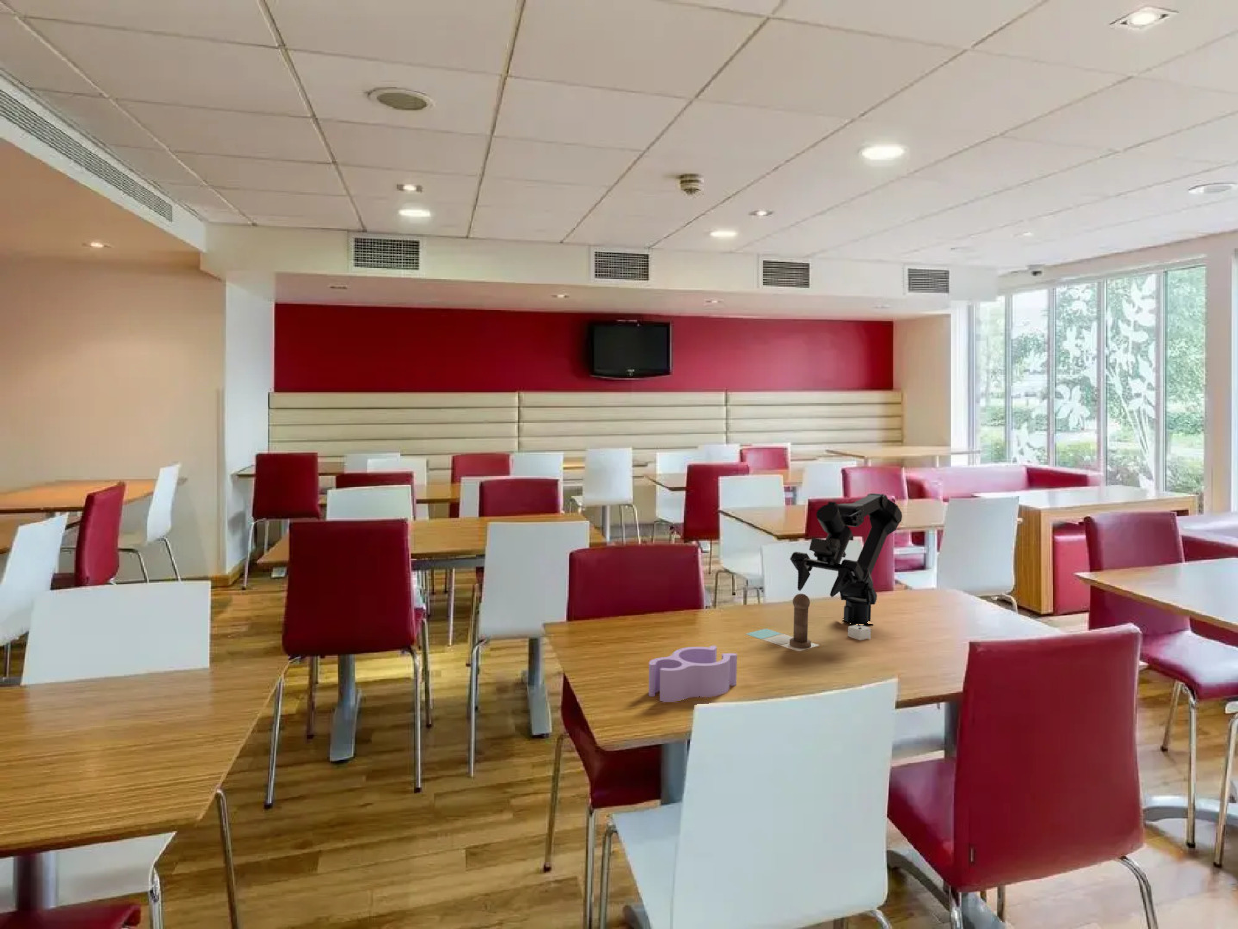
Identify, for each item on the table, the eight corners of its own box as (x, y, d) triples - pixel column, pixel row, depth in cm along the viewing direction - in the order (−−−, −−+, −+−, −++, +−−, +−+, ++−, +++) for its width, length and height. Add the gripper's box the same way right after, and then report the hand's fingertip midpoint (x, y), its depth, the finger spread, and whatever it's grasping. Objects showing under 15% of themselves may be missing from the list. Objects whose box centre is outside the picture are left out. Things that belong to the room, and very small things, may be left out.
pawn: (804, 641, 189) (806, 591, 188) (814, 648, 184) (816, 596, 183) (786, 642, 188) (787, 592, 187) (795, 649, 183) (796, 597, 182)
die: (858, 639, 196) (858, 623, 196) (870, 643, 193) (870, 626, 193) (847, 641, 194) (848, 625, 194) (860, 645, 191) (860, 629, 191)
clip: (673, 709, 150) (674, 676, 149) (637, 690, 160) (637, 658, 160) (745, 688, 161) (745, 657, 161) (706, 672, 172) (707, 642, 171)
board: (741, 638, 196) (741, 633, 196) (764, 632, 201) (764, 627, 201) (800, 658, 181) (800, 652, 181) (823, 650, 186) (823, 645, 186)
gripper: (793, 522, 200) (771, 570, 194) (859, 530, 188) (837, 581, 181) (808, 546, 207) (787, 593, 200) (872, 555, 194) (852, 606, 187)
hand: (814, 593), depth 192 cm, fingers open, 9 cm apart
